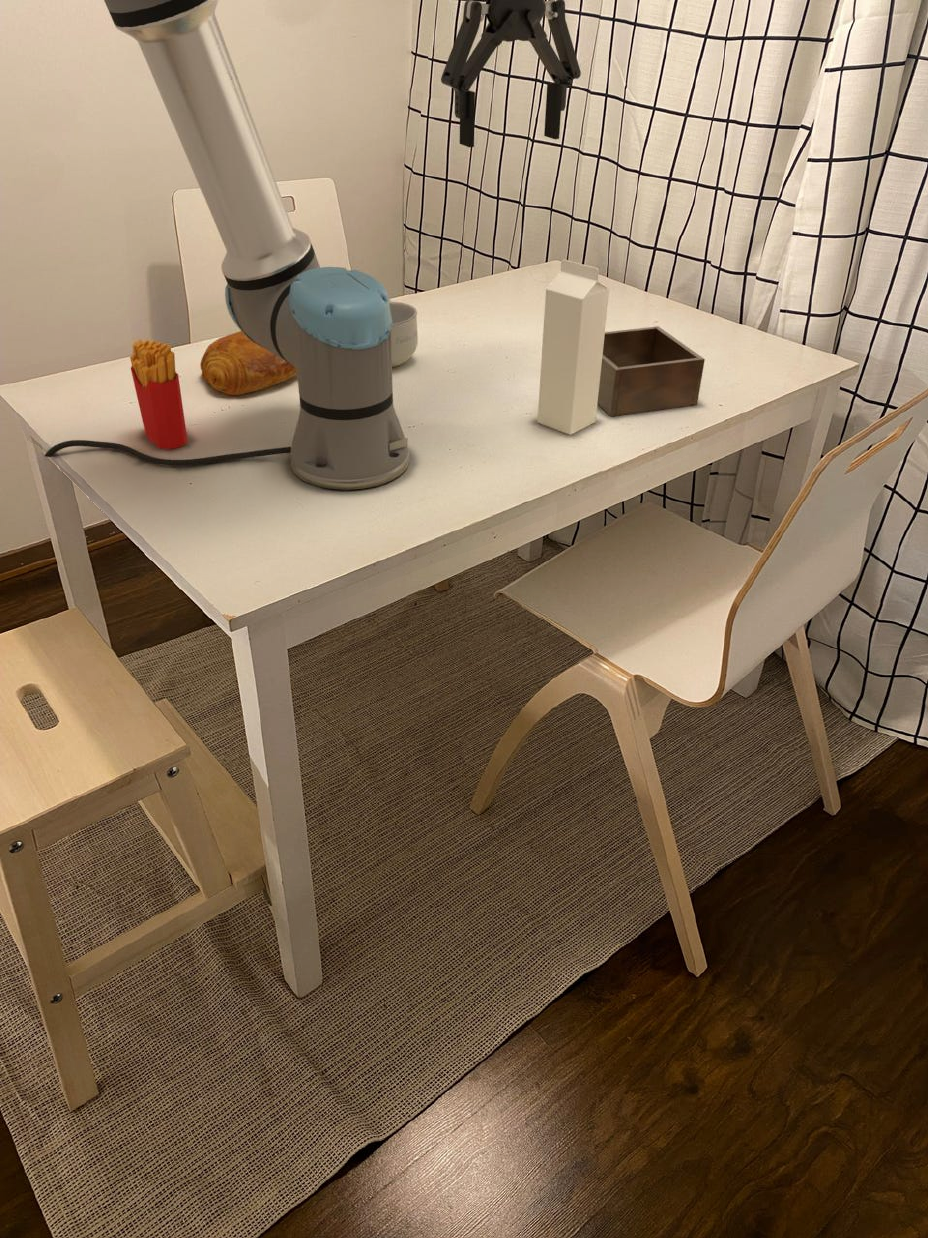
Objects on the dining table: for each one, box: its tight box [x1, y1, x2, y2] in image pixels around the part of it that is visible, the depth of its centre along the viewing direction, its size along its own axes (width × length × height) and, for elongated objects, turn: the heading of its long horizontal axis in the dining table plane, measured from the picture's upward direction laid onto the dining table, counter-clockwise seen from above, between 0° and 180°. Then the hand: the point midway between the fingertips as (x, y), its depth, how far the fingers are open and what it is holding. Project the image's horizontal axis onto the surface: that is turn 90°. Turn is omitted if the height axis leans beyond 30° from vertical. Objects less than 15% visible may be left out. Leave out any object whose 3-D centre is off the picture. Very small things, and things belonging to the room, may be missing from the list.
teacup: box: [389, 298, 418, 368], centre depth 153 cm, size 14×11×8 cm
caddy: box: [597, 325, 705, 417], centre depth 143 cm, size 14×14×7 cm
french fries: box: [129, 338, 188, 450], centre depth 126 cm, size 9×4×13 cm, turn 39°
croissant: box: [199, 330, 297, 396], centre depth 146 cm, size 14×16×8 cm
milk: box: [536, 259, 610, 436], centre depth 130 cm, size 6×6×22 cm
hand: (510, 141), depth 132 cm, fingers open, 13 cm apart
